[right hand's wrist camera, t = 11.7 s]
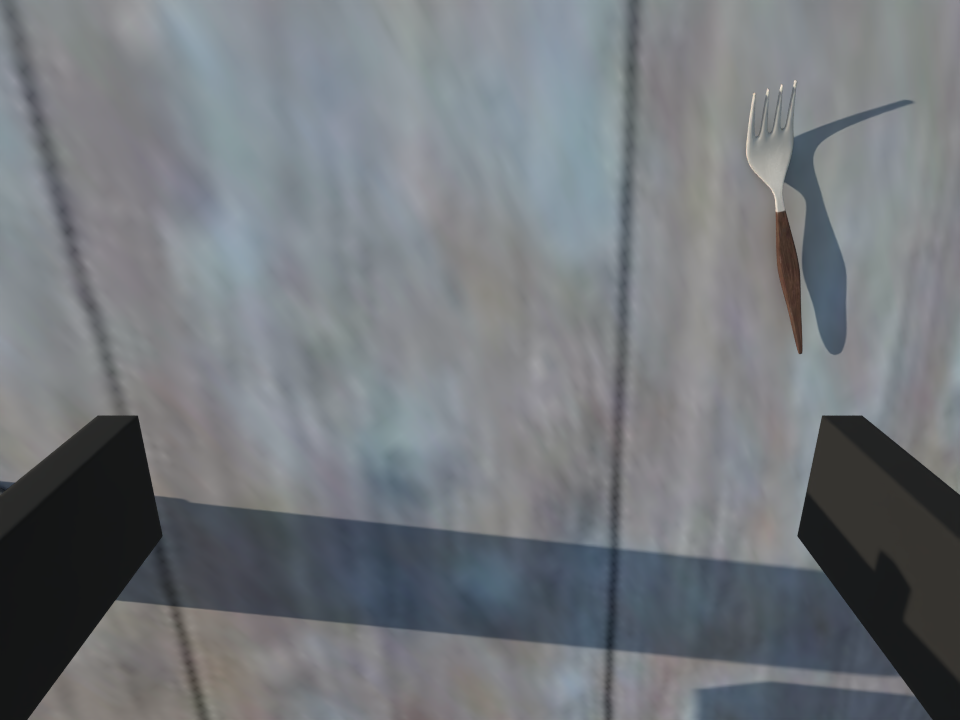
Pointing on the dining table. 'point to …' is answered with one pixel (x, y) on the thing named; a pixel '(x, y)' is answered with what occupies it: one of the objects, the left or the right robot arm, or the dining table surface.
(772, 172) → the fork
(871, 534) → the right robot arm
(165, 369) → the dining table surface
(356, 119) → the dining table surface
